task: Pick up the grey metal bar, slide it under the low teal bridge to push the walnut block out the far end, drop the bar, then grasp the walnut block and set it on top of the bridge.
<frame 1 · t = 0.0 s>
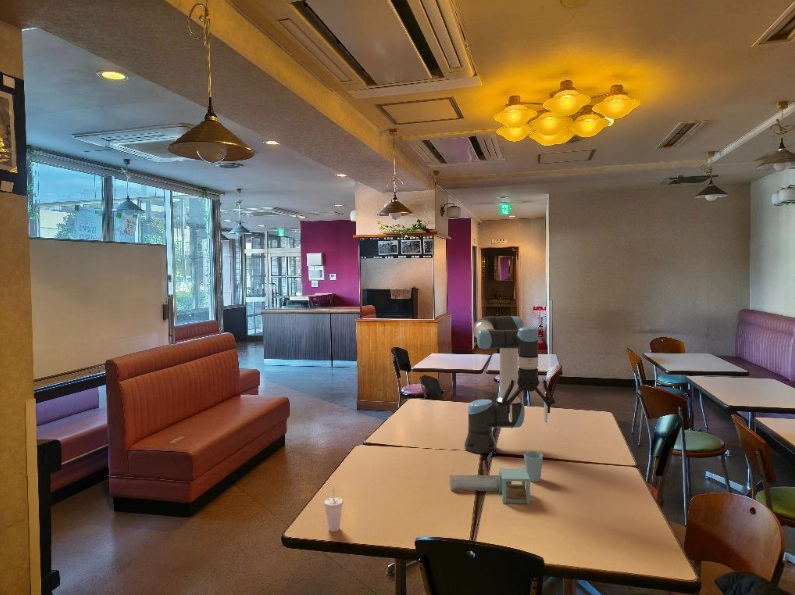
hand: (528, 421, 204), 28 cm above the table, fingers open, 13 cm apart
walnut block: (514, 498, 200), on the table
smoothie: (334, 529, 177), on the table
bridge: (514, 497, 200), on the table
cup: (533, 479, 217), on the table
grey bar: (480, 489, 208), on the table
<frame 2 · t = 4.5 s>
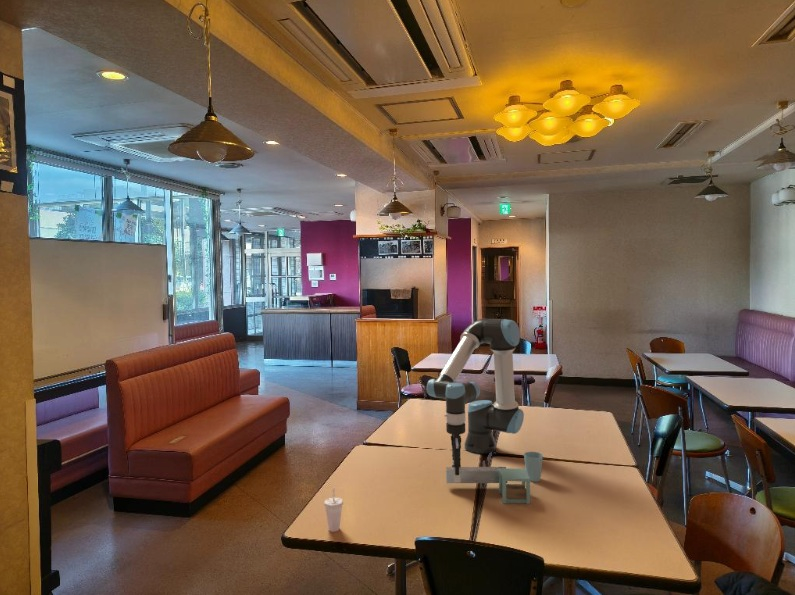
hand: (456, 479, 209), 3 cm above the table, fingers closed on grey bar, 4 cm apart
grey bar: (476, 481, 209), point 3 cm above the table, touching gripper
everything else where it was.
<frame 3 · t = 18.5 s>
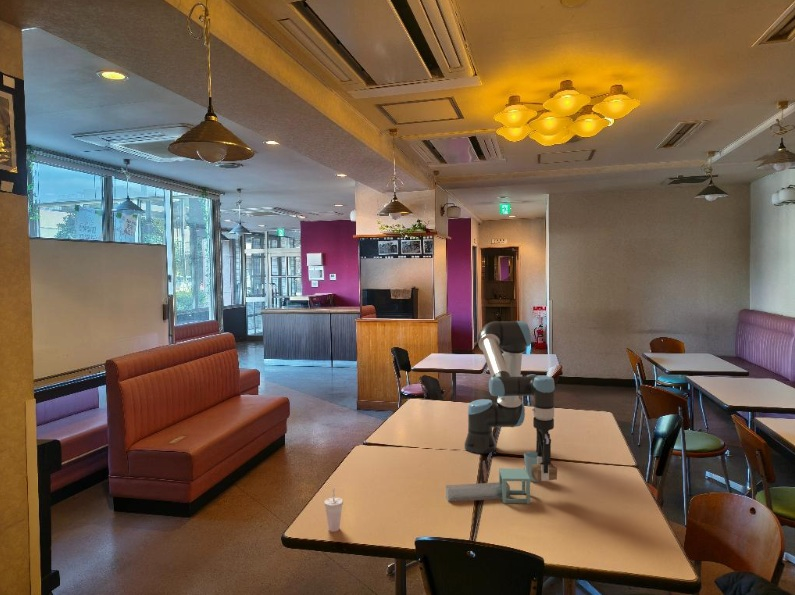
hand: (543, 476, 199), 8 cm above the table, fingers closed on walnut block, 6 cm apart
walnut block: (544, 477, 199), point 8 cm above the table, touching gripper
grey bar: (477, 498, 200), on the table
everything else where it was.
when the fingers open (11 cm above the table, at t = 21.4 s): walnut block stays where it is, resting on bridge.
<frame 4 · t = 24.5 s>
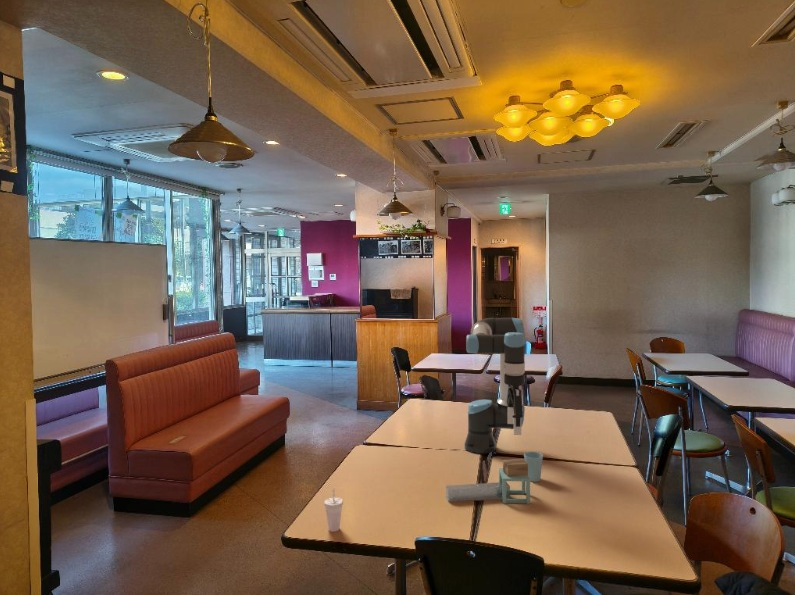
hand: (514, 429, 198), 27 cm above the table, fingers open, 13 cm apart
walnut block: (515, 473, 199), point 9 cm above the table, touching bridge
everything else where it was.
at the end: walnut block inside the target area on the bridge (0.5 cm from its centre), point 9.5 cm above the bridge's base; walnut block tilted 0°; the gripper is holding nothing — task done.
